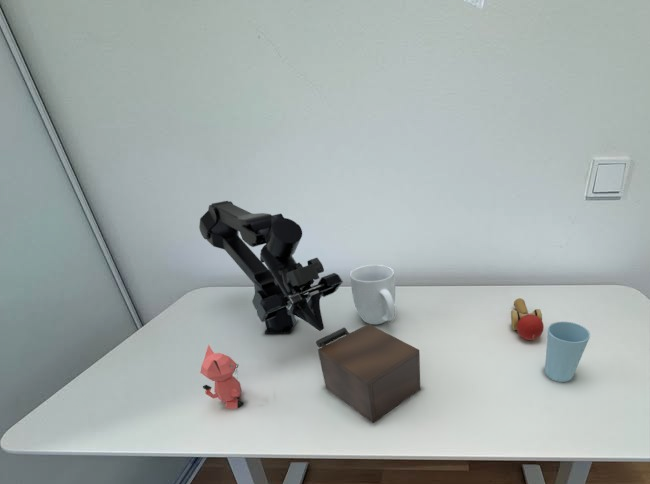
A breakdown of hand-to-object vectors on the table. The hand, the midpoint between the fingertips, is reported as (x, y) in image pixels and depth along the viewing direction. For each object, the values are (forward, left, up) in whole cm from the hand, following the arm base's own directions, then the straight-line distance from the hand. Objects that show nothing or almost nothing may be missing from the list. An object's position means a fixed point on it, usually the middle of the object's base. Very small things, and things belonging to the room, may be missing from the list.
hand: (322, 329), depth 79 cm
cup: (+50, -9, -8) cm, 51 cm away
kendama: (+48, +11, -8) cm, 50 cm away
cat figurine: (-16, -14, -8) cm, 23 cm away
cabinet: (+11, -11, -8) cm, 17 cm away
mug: (+11, +16, -8) cm, 21 cm away
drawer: (+8, -8, -7) cm, 13 cm away
